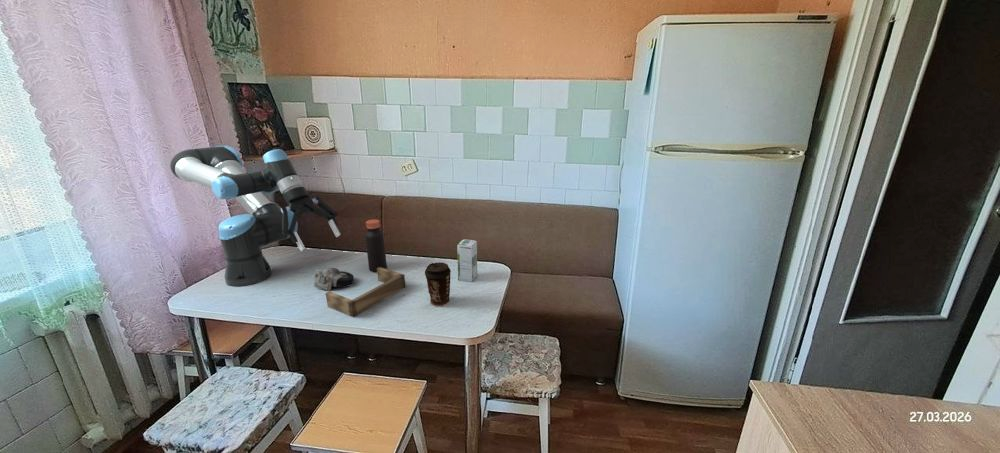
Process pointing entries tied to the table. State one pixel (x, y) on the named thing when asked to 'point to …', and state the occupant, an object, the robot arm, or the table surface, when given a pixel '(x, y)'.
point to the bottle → (375, 246)
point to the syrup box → (467, 260)
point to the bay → (368, 294)
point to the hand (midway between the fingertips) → (321, 242)
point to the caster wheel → (332, 278)
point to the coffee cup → (438, 283)
